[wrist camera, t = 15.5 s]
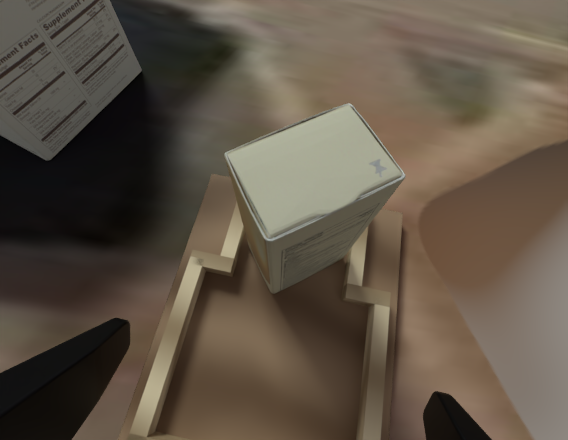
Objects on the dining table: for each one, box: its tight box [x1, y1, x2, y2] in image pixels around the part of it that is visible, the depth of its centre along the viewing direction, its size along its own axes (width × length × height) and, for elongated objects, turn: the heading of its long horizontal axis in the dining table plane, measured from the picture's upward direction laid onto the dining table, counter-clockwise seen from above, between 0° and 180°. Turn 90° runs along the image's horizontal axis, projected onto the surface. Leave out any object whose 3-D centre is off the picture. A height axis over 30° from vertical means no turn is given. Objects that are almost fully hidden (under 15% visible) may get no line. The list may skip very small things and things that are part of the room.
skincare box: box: [225, 103, 405, 294], centre depth 18 cm, size 6×4×12 cm
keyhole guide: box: [118, 174, 403, 440], centre depth 21 cm, size 19×16×3 cm
